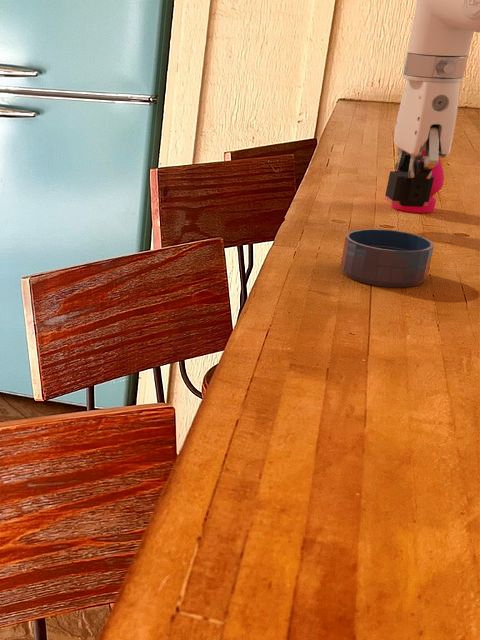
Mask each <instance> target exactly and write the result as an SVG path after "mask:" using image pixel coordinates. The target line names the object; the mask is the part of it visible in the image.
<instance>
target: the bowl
mask: <svg viewBox="0 0 480 640" xmlns="http://www.w3.org/2000/svg"><path fill="white" fill-rule="evenodd" d="M434 248H435V243H434V242H433V241H432V240H431V239H429V238H426V237H424V236H421V235H418V234H414V233H411V232H405V231H400V230H395V229H394V230H393V229H381V228H362V229H356V230H351V231H349V232H347V233H346V234H345V238H344V244H343V249H342V255H341V261H340V262H341V263H340V269H341V270H342V272H343V274H344V275H345V276H346V277H348V278H349V279H352V280H353V281H356V282H358V283H363V284H366V285H371V286H376V287H384V288H385V287H386V288H410V287H415V286H418V285H419V286H420V284H422V283H423V281H424V280H426V279H428V277H429V276H428V275H429V270H430V267H431V261H432V256H433V253H434Z"/></svg>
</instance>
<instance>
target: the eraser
mask: <svg viewBox="0 0 480 640" xmlns="http://www.w3.org/2000/svg"><path fill="white" fill-rule="evenodd" d="M405 177H408V172H398V171H396V170H395V171H393V170H390V171H389V175H388V180H387V185H386V189H385V195H384V200H386V201H387V202H388V203H389V204H390V205H391V204H398V205H400V198H401V193H402V188H403V183H404V178H405ZM433 180H434V177H432V176H431V178H430V179H429V184H428V189H427V193H426V198H425V202H424V205H423V206H428V203H429V198H430V194H431V189H432V185H433Z"/></svg>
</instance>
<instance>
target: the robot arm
mask: <svg viewBox="0 0 480 640" xmlns="http://www.w3.org/2000/svg"><path fill="white" fill-rule="evenodd" d="M474 33H480V0H416V3H415V9H414V14H413V20H412V24H411V30H410V35H409V41H408V46H407V50H406V55H405V60H404V65H403V70H402V71H403V72H402V76H401V79H403V80H406V82H405V86H404V88H403V93H402V95H401V99H400V103H399V108H398V113H397V116H396V120H395V121H396V122H395V127H394V134H393V143H394V145H395V146H396V147H397V150H398V151H397V158H396V162H395V171H396V170H399V171H398V172H408V177H405V178H404V183H403V188H402V193H401V198H400V205H401V206H411V207H422V206H423V205H424V202H425V198H426V193H427V189H428V184H429V179H430V178H431V174H432V169H433V168H434V167H435V166H436V165H437V164H438V156H440V158H447V157H448V156H449V155H450V153H451V149H452V144H453V139H454V134H455V128H456V122H457V115H458V109H459V99H460V85H461V83H462V82H463V81H464V77H465V72H466V66H467V63H468V58H469V53H470V49H471V44H472V40H473V35H474ZM422 151H425V152H426V155H421V154H422ZM420 160H423V161H420ZM419 161H420V162H419Z"/></svg>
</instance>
